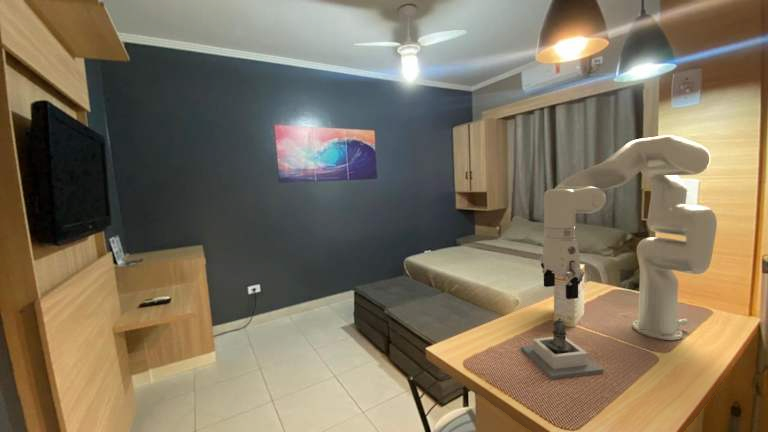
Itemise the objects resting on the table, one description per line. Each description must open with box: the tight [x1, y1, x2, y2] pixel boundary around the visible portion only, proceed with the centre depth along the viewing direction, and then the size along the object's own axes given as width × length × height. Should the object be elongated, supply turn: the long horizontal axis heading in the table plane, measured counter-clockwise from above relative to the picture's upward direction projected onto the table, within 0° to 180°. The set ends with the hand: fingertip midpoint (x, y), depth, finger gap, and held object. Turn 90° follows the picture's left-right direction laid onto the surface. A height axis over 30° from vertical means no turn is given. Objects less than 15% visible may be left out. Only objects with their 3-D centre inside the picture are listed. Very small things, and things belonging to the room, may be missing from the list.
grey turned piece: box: [548, 318, 571, 354], centre depth 90 cm, size 6×6×12 cm
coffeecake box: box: [553, 263, 586, 329], centre depth 116 cm, size 15×7×20 cm, turn 136°
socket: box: [520, 336, 604, 380], centre depth 91 cm, size 15×15×4 cm
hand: (560, 292), depth 89 cm, fingers open, 9 cm apart
